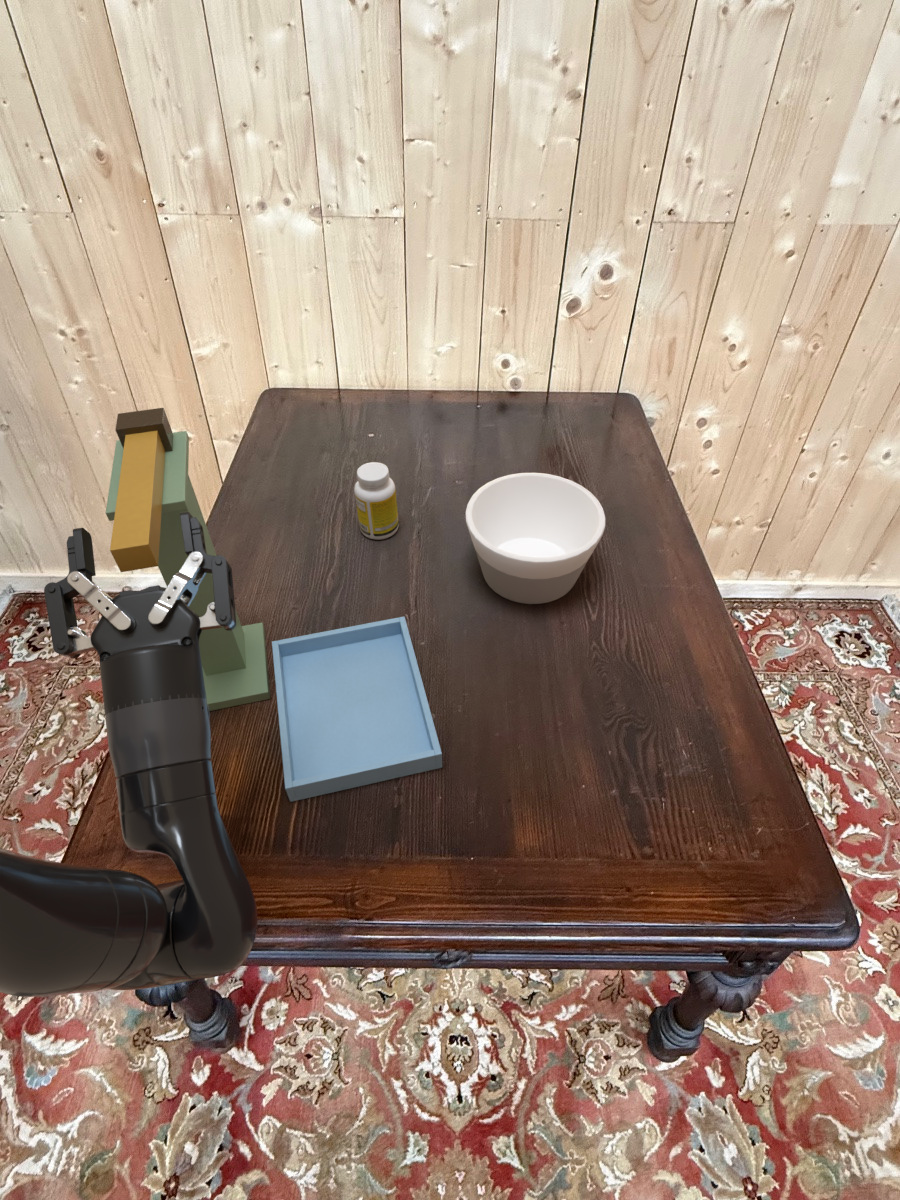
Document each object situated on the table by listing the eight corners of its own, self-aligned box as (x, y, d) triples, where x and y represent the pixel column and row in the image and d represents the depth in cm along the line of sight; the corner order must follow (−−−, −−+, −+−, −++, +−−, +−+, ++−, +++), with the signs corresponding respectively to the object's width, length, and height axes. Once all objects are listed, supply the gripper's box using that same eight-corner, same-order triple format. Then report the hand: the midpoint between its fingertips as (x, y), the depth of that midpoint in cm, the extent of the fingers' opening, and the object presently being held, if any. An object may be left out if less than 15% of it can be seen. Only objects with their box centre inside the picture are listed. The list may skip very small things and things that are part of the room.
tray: (290, 802, 78) (285, 788, 75) (276, 656, 92) (271, 641, 90) (442, 767, 80) (442, 753, 78) (405, 631, 95) (404, 616, 92)
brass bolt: (111, 574, 57) (97, 545, 55) (128, 441, 71) (117, 413, 68) (166, 564, 58) (154, 536, 56) (173, 434, 71) (163, 407, 69)
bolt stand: (189, 715, 86) (87, 515, 62) (190, 643, 94) (100, 442, 70) (270, 698, 87) (201, 498, 64) (264, 629, 95) (201, 428, 72)
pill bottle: (404, 519, 111) (399, 462, 103) (391, 544, 107) (385, 486, 99) (367, 512, 112) (360, 455, 104) (354, 537, 108) (345, 480, 100)
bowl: (568, 635, 94) (578, 580, 86) (442, 591, 100) (441, 535, 92) (611, 549, 106) (623, 493, 98) (496, 514, 112) (499, 458, 104)
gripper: (240, 688, 53) (211, 492, 56) (41, 727, 50) (23, 520, 54) (255, 698, 60) (229, 524, 63) (82, 733, 58) (64, 550, 61)
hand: (134, 523), depth 59 cm, fingers open, 8 cm apart
